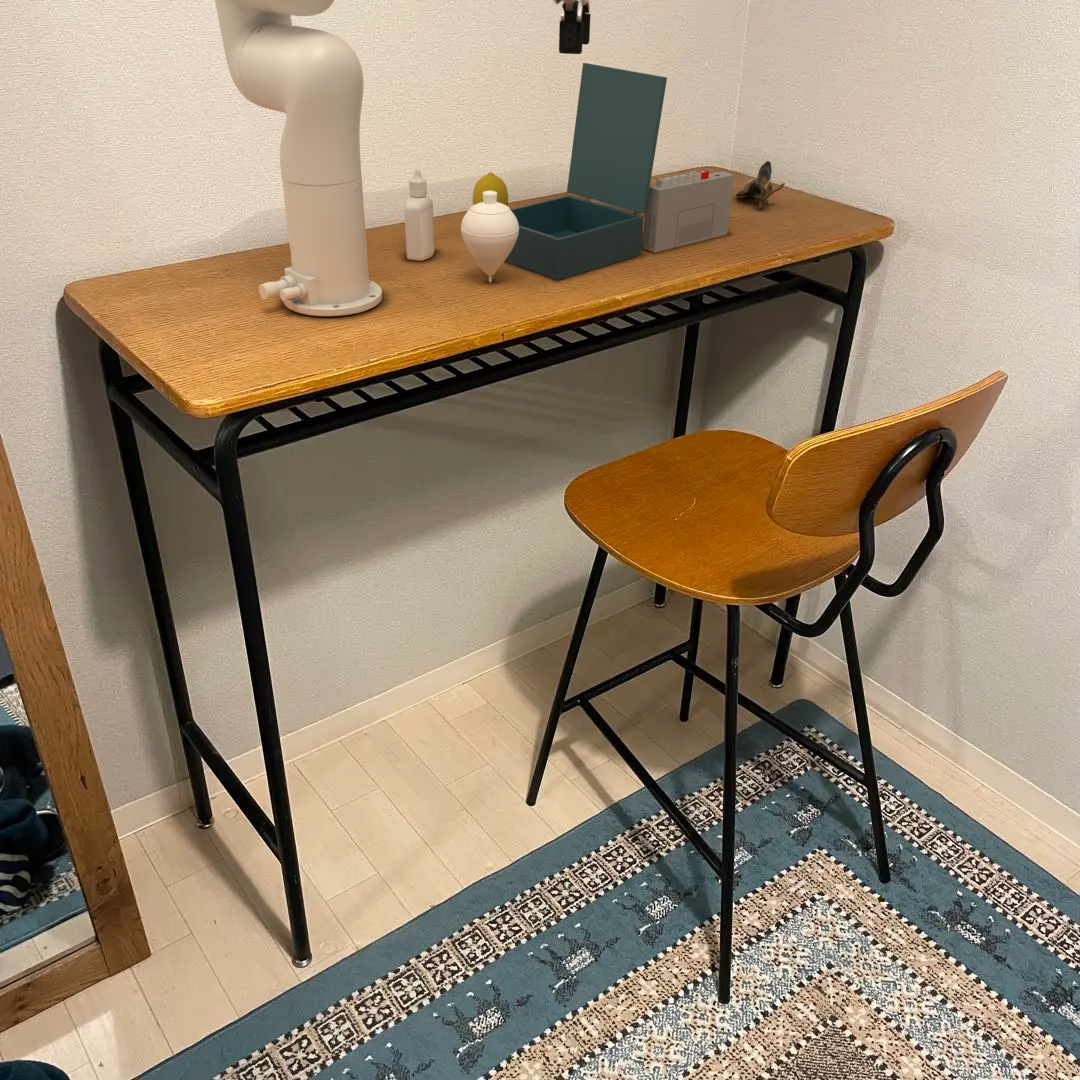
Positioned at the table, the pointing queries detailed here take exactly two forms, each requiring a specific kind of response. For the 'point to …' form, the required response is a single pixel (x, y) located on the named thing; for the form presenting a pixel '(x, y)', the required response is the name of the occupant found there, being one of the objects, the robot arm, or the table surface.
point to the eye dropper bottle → (419, 220)
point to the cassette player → (687, 209)
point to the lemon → (490, 189)
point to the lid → (616, 136)
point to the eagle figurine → (760, 186)
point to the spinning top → (490, 232)
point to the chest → (573, 236)
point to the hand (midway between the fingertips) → (574, 48)
